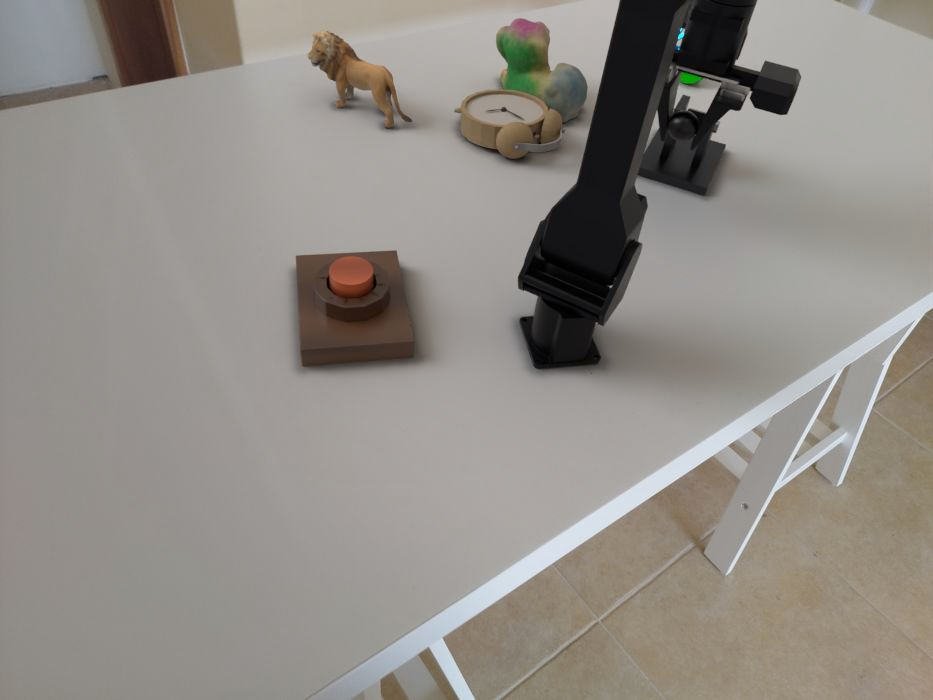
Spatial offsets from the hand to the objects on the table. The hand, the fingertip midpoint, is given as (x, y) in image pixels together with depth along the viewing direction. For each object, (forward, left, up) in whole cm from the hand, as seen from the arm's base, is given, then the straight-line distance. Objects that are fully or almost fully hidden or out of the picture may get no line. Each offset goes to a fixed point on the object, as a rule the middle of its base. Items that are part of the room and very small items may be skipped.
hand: (677, 144), depth 81 cm
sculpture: (+27, +8, -9) cm, 29 cm away
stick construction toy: (+36, -17, -9) cm, 41 cm away
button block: (-14, +37, -9) cm, 41 cm away
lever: (+4, -3, -2) cm, 5 cm away
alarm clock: (+17, +14, -9) cm, 24 cm away
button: (-14, +37, -5) cm, 40 cm away
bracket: (+10, -7, -9) cm, 15 cm away
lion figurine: (+25, +33, -9) cm, 42 cm away
